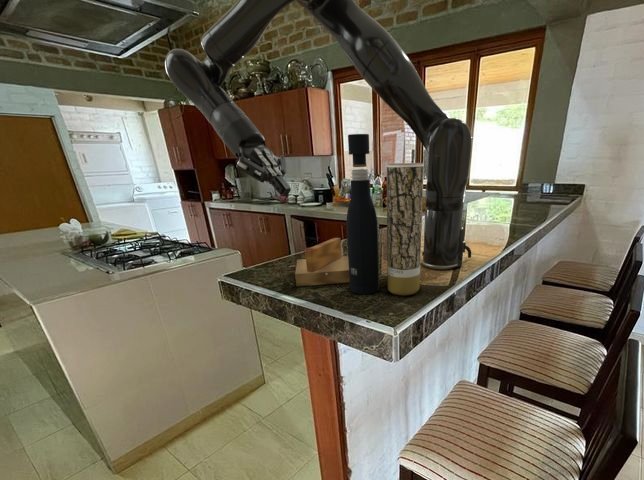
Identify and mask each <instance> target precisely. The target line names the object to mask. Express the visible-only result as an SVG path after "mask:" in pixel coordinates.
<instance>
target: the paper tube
mask: <svg viewBox="0 0 644 480" xmlns="http://www.w3.org/2000/svg"><path fill="white" fill-rule="evenodd" d="M424 173H425V165H424V163H423V162H400V163H399V162H397V163H395V162H394V163H387V164H386V250H387V251H386V259H387V260H386V263H387V264H386V269H387V271H386V272H387V290H388V292H389V293H390V294H392V295H395V296H404V297H405V296H411V295H414V294H417V293H418V291H419V290H420V279H421V277H420V275H421V256H422V226H423V223H422V222H423V203H424V200H423V199H424V176H425V174H424Z"/></svg>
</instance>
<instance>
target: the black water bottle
mask: <svg viewBox="0 0 644 480" xmlns="http://www.w3.org/2000/svg"><path fill="white" fill-rule="evenodd" d="M347 145H348V155H351V156H352V167H353V168H358V169H351V180H350V198H349V203H348V207H347V211H346V212H347V213H346V220H345V221H346V222H345V226H346V243H347V256H348V261H349V277H350V282H349V290H350V292H352V293H353V294H355V295H356V294H357V295H371V294H374V293H377V292H378V291H379V290H380V266H379V265H380V264H379V263H380V261H379V257H380V256H379V221H378V215H377V211H376V207H375V205H374V202H373V199H372V196H371V180H370V179H369V178H370V176H369V170H368V168H366V167H367V155H370V134H369V133H353V134H352V133H351V134H348V135H347ZM359 168H361V169H359ZM362 168H363V169H362ZM364 168H365V169H364Z"/></svg>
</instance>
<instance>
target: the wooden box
mask: <svg viewBox="0 0 644 480" xmlns="http://www.w3.org/2000/svg"><path fill="white" fill-rule="evenodd" d="M341 256H342V257H341V258H339V259H337V260H335V261H334V262H332V263H330V264H328V265H326V266H324V267H322V268H320V269H318V270H316V271H314V272H308V271H307V265H306V258H301V259H297V260H296V264H295V265H289V266H288V267H289V268H295V272H294V276H295V284H296V287H308V286H319V285H320V286H321V285H333V284H346V283H350V277H349V261H348V255H345V256H343V255H341Z"/></svg>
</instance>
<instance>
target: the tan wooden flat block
mask: <svg viewBox="0 0 644 480" xmlns="http://www.w3.org/2000/svg"><path fill="white" fill-rule="evenodd" d="M341 243H342V242H341V237H333V238H330V239H328V240H326V241H323V242H321V243H318V244H316V245H314V246H310V247H306V248H305V249H304V256H305V259H306V265H307V271H308V272H314V271H316V270H318V269H320V268H322V267H324V266H326V265H328V264H330V263H332V262H334V261H335V260H337V259H339V258H341V257H342V256H343V255H342V244H341Z"/></svg>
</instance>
